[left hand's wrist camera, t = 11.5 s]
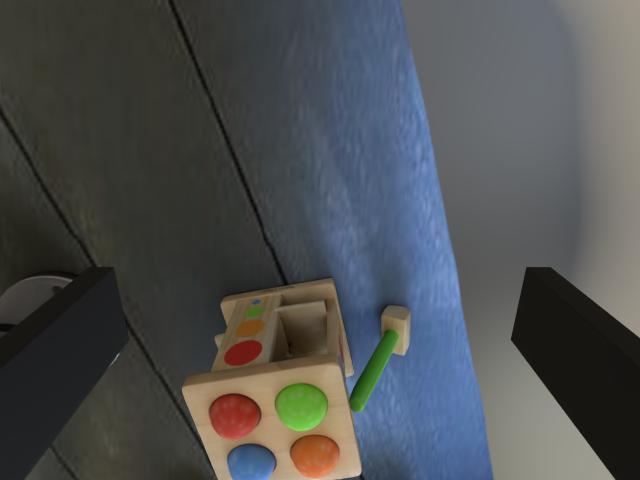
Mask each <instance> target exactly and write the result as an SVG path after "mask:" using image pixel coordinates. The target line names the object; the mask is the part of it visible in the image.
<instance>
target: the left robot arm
mask: <svg viewBox="0 0 640 480" xmlns="http://www.w3.org/2000/svg"><path fill="white" fill-rule="evenodd" d="M128 341H129V336H128V332H127V327H126V322H125V318H124V313H123V309H122V304H121V299H120V295H119V290H118V285H117V281H116V276H115V272H114V267H89V268H88V269H87V270H85V271H84V272H83V273H82V274H80V275H79V276H76V275H73V274H69V273H64V272H53V271H51V272H40V273H36V274H33V275H30V276H28V277H25V278H24V279H22V280H20V281H19V282H17V283H16V284H14V285H13V286H11V287H10V288H9V289H8V290H7V291H6V292H5V293H4V294H3V295H2V296H1V298H0V480H25V478H26V477H27V476H28V474H29V473H30V472H31V470H32V469H33V468H34V466H35V465H36V464H37V462H38V461H39V460H40V458H41V457H42V456H43V454H44V453H45V452H46V450H47V449H48V448H49V446H50V445H51V444H52V442H53V441H54V440H55V438H56V437H57V436H58V434H59V433H60V432H61V430H62V429H63V428H64V426H65V425H66V424H67V422H68V421H69V420H70V418H71V417H72V416H73V414H74V413H75V412H76V410H77V409H78V407H79V406H80V405H81V403H82V402H83V401H84V399H85V398H86V397H87V395H88V394H89V393H90V391H91V390H92V389H93V387H94V386H95V385H96V383H97V382H98V381H99V379H100V378H101V377H102V375H103V374H104V373H105V371H106V370H107V369H108V368H109V367H110V366H111V365H112V364H113V363H114V361H115V360H116V359H117V357H118V356H119V355H120V353H121V352H122V350H123V348H124V346H125V345H126V343H127V342H128ZM511 341H512V342H513V343H514V345H515V346H516V347H517V349H518V350H519V351H520V353H521V354H522V355H523V357H524V358H525V359H526V361H527V362H528V363H529V365H530V366H531V367H532V369H533V370H534V371H535V373H536V374H537V375H538V377H539V378H540V379H541V381H542V382H543V383H544V385H545V386H546V387H547V389H548V390H549V391H550V393H551V394H552V395H553V397H554V398H555V399H556V401H557V402H558V403H559V405H560V406H561V407H562V409H563V410H564V411H565V413H566V414H567V416H568V417H569V418H570V420H571V421H572V422H573V423H574V425H575V426H576V428H577V429H578V430H579V432H580V433H581V434H582V436H583V437H584V438H585V439H586V441H587V442H588V444H589V445H590V446H591V448H592V449H593V450H594V452H595V453H596V454H597V456H598V457H599V458H600V460H601V461H602V462H603V464H604V465H605V466H606V468H607V469H608V470H609V472H610V473H611V474H612V476H613V477H614V478H615V480H640V338H639V337H638V336H636V335H635V334H634V333H633V332H632V331H630V330H629V329H628V328H626V327H625V326H624V325H623V324H621V323H620V322H619V321H618V320H616V319H615V318H614V317H613V316H611V315H610V314H609V313H608V312H606V311H605V310H604V309H603V308H601V307H600V306H599V305H598V304H596V303H595V302H594V301H592V300H591V299H590V298H589V297H587V296H586V295H585V294H584V293H582V292H581V291H580V290H579V289H577V288H576V287H575V286H574V285H572V284H571V283H570V282H569V281H567V280H566V279H565V278H563V277H562V276H561V275H560V274H558V273H557V272H556V271H555V270H553V269H552V268H551V267H527V268H526V272H525V276H524V281H523V286H522V290H521V295H520V299H519V304H518V309H517V313H516V318H515V323H514V327H513V332H512V336H511Z"/></svg>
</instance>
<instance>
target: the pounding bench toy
mask: <svg viewBox="0 0 640 480" xmlns="http://www.w3.org/2000/svg"><path fill="white" fill-rule="evenodd" d="M221 309H222V312H223V315H224V318H225V321H226V324H227V329H226V332H225V333H223V334H219V335H216V336H215V341H216V344H217V347H218V353H217V356H216V358H215V361H214V364H213V367H212V369H211V372H208V373H202V374H197V375H192V376H189V377H187V379H186V381H185V383H184V385H183V387H182V392H183V395H184V398H185V401H186V403H187V406H188V408H189V410H190V413H191V415H192V418H193V420H194V422H195V425H196V427H197V430H198V432H199V434H200V437H201V439H202V441H203V444H204V446H205V449H206V451H207V454H208V456H209V459H210V461H211V464H212V466H213V468H214V471H215V473H216V476H217V478H218V480H335V479H342V478H349V477H355V476H358V475H360V474H361V471H362V467H361V458H360V451H359V447H358V442H357V437H356V432H355V428H354V416H353V412H352V410H353V411H355V412H360V411H362V410H363V408H364V406H365V404H366V402H367V400H368V398H369V396H370V394H371V392H372V391H373V389H374V387H375V385H376V383H377V381H378V379H379V377H380V375H381V373H382V371H383V369H384V367H385V365H386V363H387V361H388V359H389V357H390V356H391V354H392V353H395V354H399V355H405V353H406V351H407V349H408V346H409V342H410V322H411V311H410V310H409V309H408V308H405V307H402V306H395V305H389V306H387V307H386V309H385V310H384V312H383V313H382V315H381V341H380V343H379V344H378V346H377V348H376V350H375V351H374V353H373V355H372V357H371V358H370V360H369V362H368V364H367V365H366V367H365V369H364V371H363V372H362V374H361V376H360V378H359V379H358V381H357V383H356V385H355V386H354V388H353V391H352V393H351V396H350V398H349V394H348V390H347V386H346V377H348V376H352V375H353V374H354V370H353V364H352V359H351V354H350V350H349V345H348V341H347V336H346V332H345V327H344V323H343V318H342V314H341V309H340V305H339V301H338V296H337V292H336V287H335V283H334V279H333V278H328V279H321V280H315V281H310V282H304V283H298V284H292V285H287V286H281V287H275V288H269V289H263V290H258V291H252V292H246V293H241V294H235V295H230V296H226V297H224V298H223V300H222V302H221Z"/></svg>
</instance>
